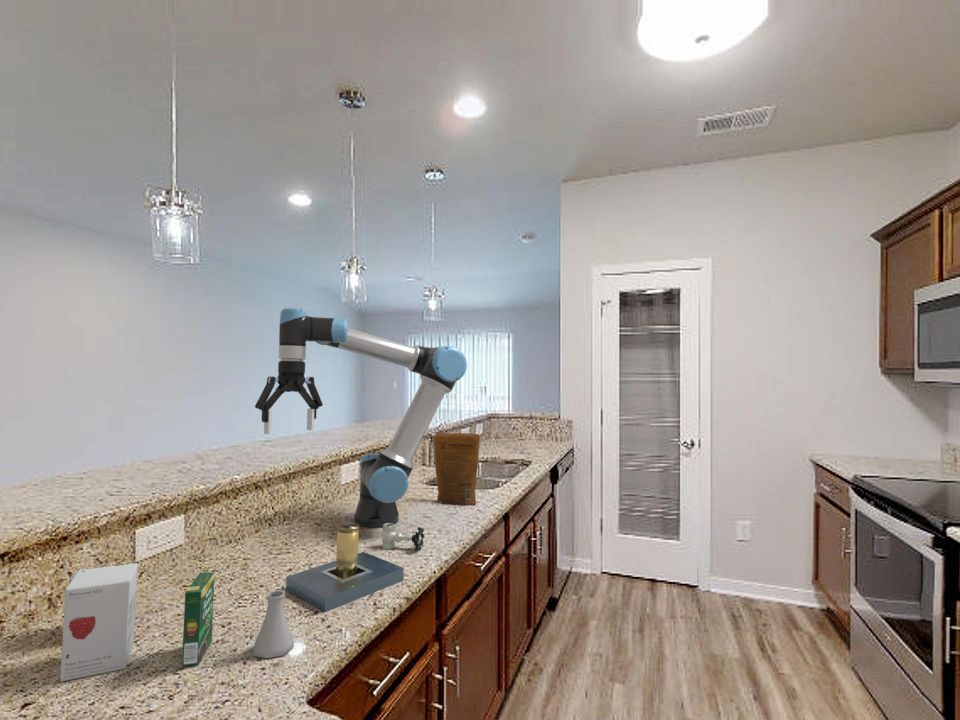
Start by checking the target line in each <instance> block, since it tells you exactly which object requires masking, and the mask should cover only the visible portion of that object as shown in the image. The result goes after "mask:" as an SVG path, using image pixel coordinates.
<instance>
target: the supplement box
mask: <svg viewBox="0 0 960 720" xmlns="http://www.w3.org/2000/svg"><path fill="white" fill-rule="evenodd" d="M107 566H108V567H102V566H101V567H102V568H95V567H93V568H94V569H91V568H88V569H87V568H86V569H79V570H78V571H77V572H76V573H77V574H76V573H75V574H76V575H75V577H74V578H73V580H72V581H71V583H70V584H69V583H68V585H67V587H66V588H65V591H64V592H65V593H64V607H63V608H64V609H63V626H62V628H63V629H62V643H61V644H62V645H61V658H60V659H61V661H60V676H59V677H60V678H59V679H60V680H59V681H60V683H62V682H65V681H70V680H75V679H81V678H85V677H92V676H96V675H101V674H105V673H111V672H116V671H121V670H125V669H126V668H127V665H128V663H129V658H130V655H131V652H132V648H133V646H134V637H135V635H134V634H135V619H136V618H135V617H136V601H137V600H136V598H137V582H138V580H137V579H138V568H139V563H136V562H135V563H128V564H119V565H107Z"/></svg>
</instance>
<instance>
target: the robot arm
mask: <svg viewBox="0 0 960 720" xmlns="http://www.w3.org/2000/svg"><path fill="white" fill-rule="evenodd" d="M278 332H279V335H278V344H279V345H278V359H280V360H279V361H278V363H277V373H278V375H277V377H275V376H273V375H272V376H271V375H269V376H267V378H266V384H265V387H264V388H263V390H262V391H261V394H260V396H259V397H258V399H257V401H256V403H255V404H254V405H255V406H254V407H255V409H258V410H260V411H261V423H263V424H264V425H263V434H265V435H272V417H273V416H272V415H273V412H272V410H270V409H271V408H273V406H274V405H275V403H276V402H277V401H278V400H279V398H281V396H282V395H283V394H284V393H289V392H294V393H296V392H297V393H298V394H299V395H300V396H301V398H302V399H303V401H305V403H306V404H307V406H308V407H309V408H307V412H306V430H307V431H315V420H316V419H317V412H318V411H317V410H319V408H320V407H323V405H324V404H323V402H322V399H321V396H320V395H319V391H318V389H317V386H316V385H315V377H314V376H307V377H305V373H306V362H305V360H306V354H307V352H306V351H307V350H306V349H307V348H306V347H307V342H315V343H317V344H318V345H321V346H328V347H332V348H336V349H339V350H343V351H347V352H351V353H354V354H358V355H361V356H365V357H369V358H372V359H376V360H380V361H384V362H387V363H390V364H393V365H394V364H395V365H397V366H402V367H404V368H407V369H408V371H409V372H411V373H416V374H418V375H419V379H420V382H421V383H420V385H419V387H418V389H417V391H416V392H415V394H414V397H413V398H412V399H411V402H410V404H409V406H408V408H407V410H406V412H405V414H404V416H403V418H402V420H401V422H400V424H399V425H398V427H397V430H396V432H395V433H394V435H393V438H392V440H391V442H390V444H389V445H388V447H387V448H386V449H383V450H381V451H380V452H379V453H366V454H363V455H362V456H361V458H360V463H359V464H360V480H359V500H358V502H357V506H356V509H355V512H354V514H353V523H357V524H359V527H362V528H383V524H386V523H393V524H395V525H396V524H397V523H398V522H399V521H400V514H399V511H398V506H397V504H396V503H397V501H399V500H400V499H402V498H403V497H404V496H405V494H406V493H407V491H408V488H409V477H410V475H411V473H412V471H413V468H414V465H413V462H412V461H413V459H414V456H415V455H416V452H417V450H418V448H419V446H420V445H421V443H422V440H423V438H424V436H425V434H426V432H427V430H428V428H429V427H430V424H431V422H432V420H433V418H434V416H435V414H436V413H437V410H438V409H439V406H440V405H441V402H442V400H443V398H444V397H445V395H446V394H449V393H451V392H452V390H453V388H454V386H455V385H456V383H457V381H459V380H461V379H462V378H463V377H464V375H466V372H467V368H468V365H467V364H468V363H467V359H466V355H465V354H464V353H463V352H462V350H460V349H459V348H458V347H455V346H451V345H442V346H439V347H438V346H435V347H427V346H422V345H418V344H416V345H414V346H412V345H408V344H404V343H401V342H398V341H396V340H394V341H393V340H391V339H386V338H384V337H380V336H377V335H375V334H370V333H366V332H363V331H361V330H356V329H352V328H349V326H348V320H346V319H344V318H338V317H335V318H334V317H321V316H320V317H318V316H316V317H315V316H308V311H307V310H306V309H303V308H295V307H291V308H290V307H287V308H283V309H281V311H280V317H279V331H278ZM277 384H278V385H277ZM304 384H306V387H307V388H308V391H309V393H308V391H307V389H306V388H305V386H304ZM275 385H277V387H276V388H275V391H273V389H274V387H275ZM272 391H273V393H272Z"/></svg>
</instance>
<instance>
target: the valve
mask: <svg viewBox="0 0 960 720" xmlns="http://www.w3.org/2000/svg"><path fill="white" fill-rule="evenodd" d="M417 531H418V532H417ZM417 531H416V532H415V533H414V534H412V536H411V535H410V534H403V532H402V531H397V532H396V523H395V524H393V523H386V524H383V527H382V532H381V541H382V549H384V550H391V549H394V548H396V547H395V546H396V543H400V544H401V542H402V541H405V542H410V541H411V542H412V543H413V545H414V550H415V551H418V550H421V551H422V547H423V546H424V542H425V541H424V538H425V534H424V531H425V528H423V527H419V526H418V527H417Z"/></svg>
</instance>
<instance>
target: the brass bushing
mask: <svg viewBox="0 0 960 720" xmlns="http://www.w3.org/2000/svg"><path fill="white" fill-rule="evenodd" d="M336 531H337V532H336V533H337V534H336V558H335V561H336V576H337V577H339V578H341V579H346V578H349V577H351V576H354V575H357V565H358V553H359V536H360V535H359V534H360V533H359V532H360V526H359V524H357V523H354V522H343V523H339V524H337V526H336Z"/></svg>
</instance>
